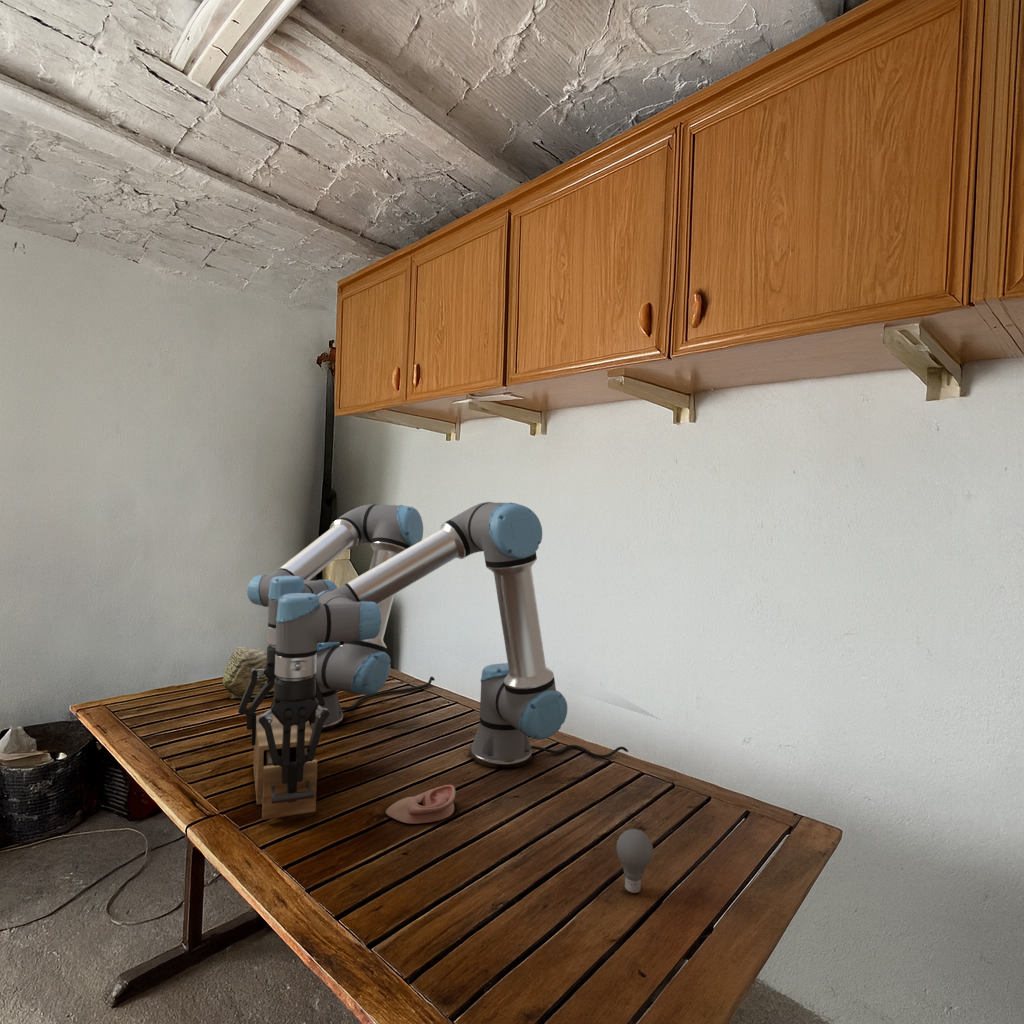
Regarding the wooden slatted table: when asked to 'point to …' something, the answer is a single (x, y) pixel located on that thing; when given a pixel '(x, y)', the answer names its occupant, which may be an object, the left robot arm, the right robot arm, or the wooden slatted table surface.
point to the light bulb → (634, 857)
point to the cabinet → (263, 745)
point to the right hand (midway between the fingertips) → (291, 798)
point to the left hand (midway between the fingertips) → (281, 740)
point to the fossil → (245, 671)
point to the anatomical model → (424, 806)
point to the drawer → (277, 793)
